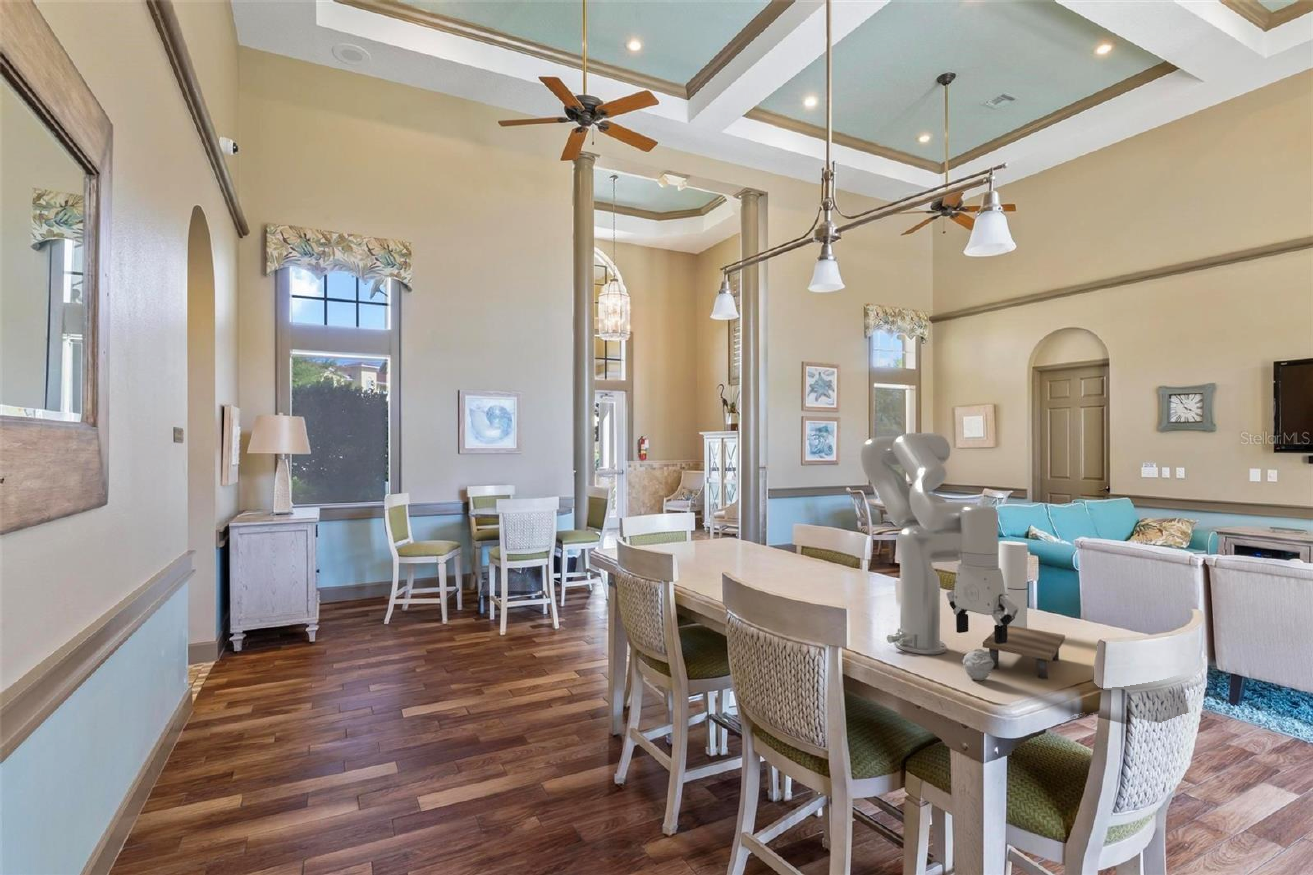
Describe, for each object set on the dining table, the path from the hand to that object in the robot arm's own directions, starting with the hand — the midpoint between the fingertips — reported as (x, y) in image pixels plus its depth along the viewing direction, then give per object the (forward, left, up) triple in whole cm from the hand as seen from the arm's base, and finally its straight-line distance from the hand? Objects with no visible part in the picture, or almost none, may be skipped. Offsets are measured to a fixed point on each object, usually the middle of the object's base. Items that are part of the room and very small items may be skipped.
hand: (981, 637), depth 142 cm
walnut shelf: (+20, +4, -10) cm, 23 cm away
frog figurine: (0, +1, -10) cm, 10 cm away
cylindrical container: (+42, +23, -10) cm, 49 cm away
